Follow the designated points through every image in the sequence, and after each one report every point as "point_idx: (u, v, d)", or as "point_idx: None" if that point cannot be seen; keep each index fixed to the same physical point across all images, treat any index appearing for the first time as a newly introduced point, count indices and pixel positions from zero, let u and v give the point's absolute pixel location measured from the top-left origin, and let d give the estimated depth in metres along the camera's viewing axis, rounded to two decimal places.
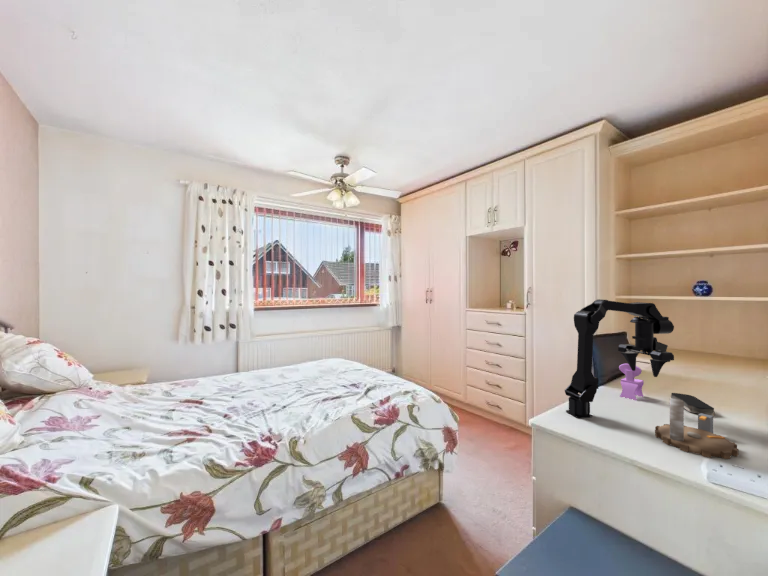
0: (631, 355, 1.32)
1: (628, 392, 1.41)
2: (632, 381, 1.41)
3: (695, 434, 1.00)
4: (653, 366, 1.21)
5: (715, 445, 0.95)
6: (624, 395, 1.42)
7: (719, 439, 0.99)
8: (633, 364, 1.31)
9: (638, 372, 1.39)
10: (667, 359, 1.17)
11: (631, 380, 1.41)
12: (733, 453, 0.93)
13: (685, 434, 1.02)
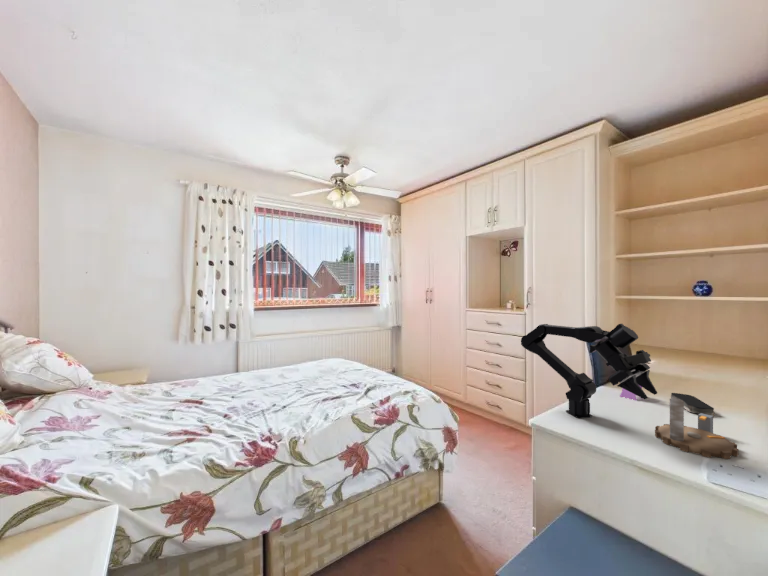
0: (639, 378, 1.11)
1: (628, 392, 1.41)
2: None
3: (695, 434, 1.00)
4: None
5: (715, 445, 0.95)
6: (624, 395, 1.42)
7: (719, 439, 0.99)
8: (649, 386, 1.08)
9: None
10: (619, 380, 1.04)
11: None
12: (733, 453, 0.93)
13: (685, 434, 1.02)
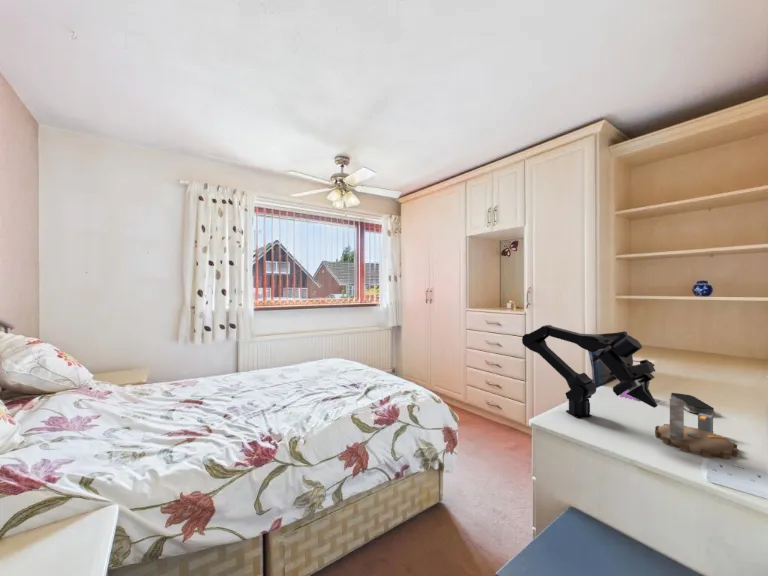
0: None
1: (628, 391, 1.41)
2: None
3: (695, 434, 1.00)
4: None
5: (715, 445, 0.95)
6: (624, 395, 1.42)
7: (719, 439, 0.99)
8: None
9: None
10: (622, 390, 1.03)
11: None
12: (733, 453, 0.93)
13: (685, 434, 1.02)
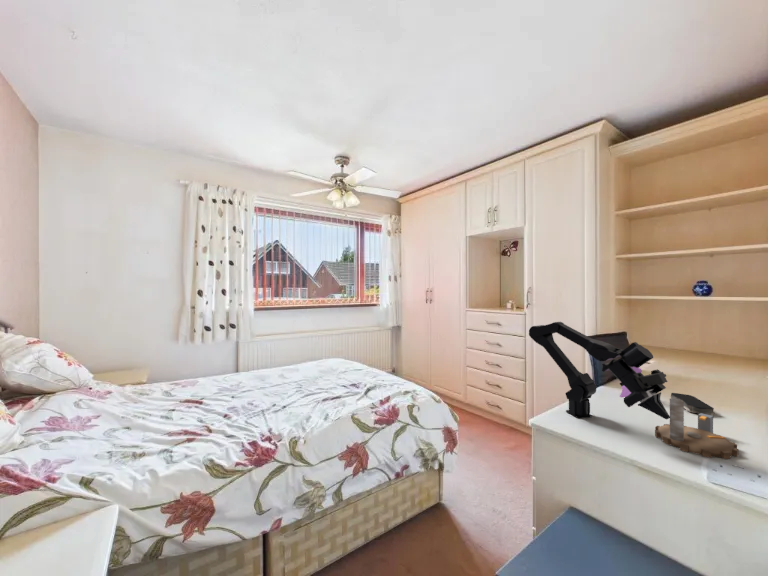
0: None
1: (628, 391, 1.41)
2: None
3: (695, 434, 1.00)
4: None
5: (715, 445, 0.95)
6: (624, 395, 1.42)
7: (719, 439, 0.99)
8: None
9: (638, 372, 1.39)
10: (634, 402, 1.00)
11: None
12: (733, 453, 0.93)
13: (685, 434, 1.02)
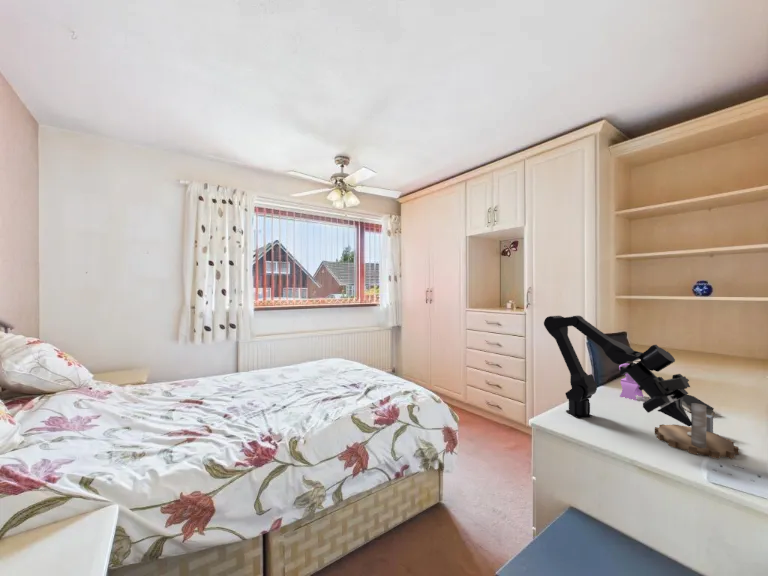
0: None
1: (628, 392, 1.41)
2: (632, 381, 1.41)
3: None
4: None
5: (720, 442, 0.97)
6: (624, 395, 1.42)
7: None
8: None
9: None
10: (654, 407, 0.96)
11: (631, 380, 1.41)
12: None
13: (687, 436, 1.01)
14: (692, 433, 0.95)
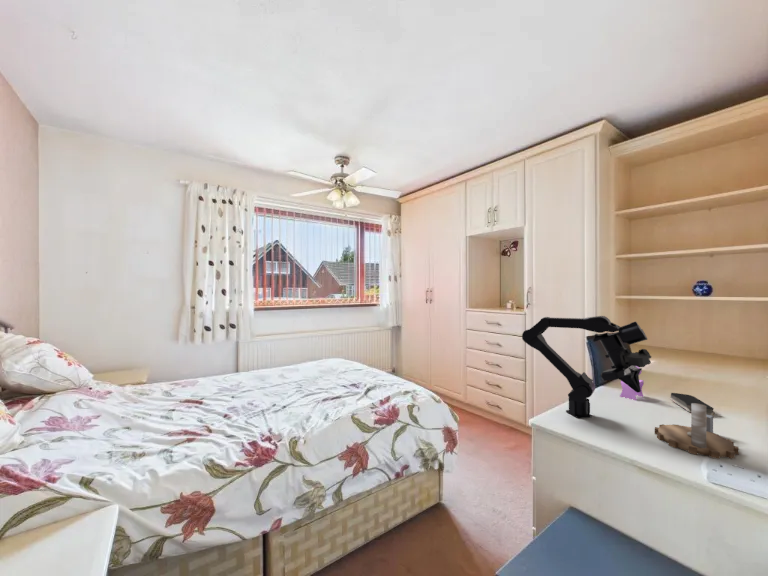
0: None
1: (628, 392, 1.41)
2: None
3: None
4: None
5: (720, 442, 0.97)
6: (624, 395, 1.42)
7: None
8: None
9: None
10: (608, 378, 1.10)
11: None
12: None
13: (687, 436, 1.01)
14: (692, 433, 0.95)
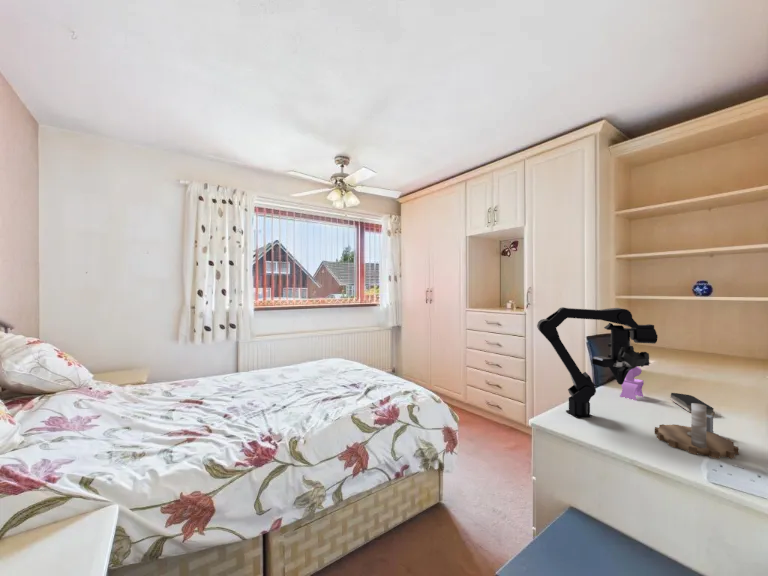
0: None
1: (628, 392, 1.41)
2: (632, 381, 1.41)
3: None
4: None
5: (720, 442, 0.97)
6: (624, 395, 1.42)
7: None
8: None
9: (638, 372, 1.39)
10: (597, 364, 1.18)
11: (631, 380, 1.41)
12: None
13: (687, 436, 1.01)
14: (692, 433, 0.95)
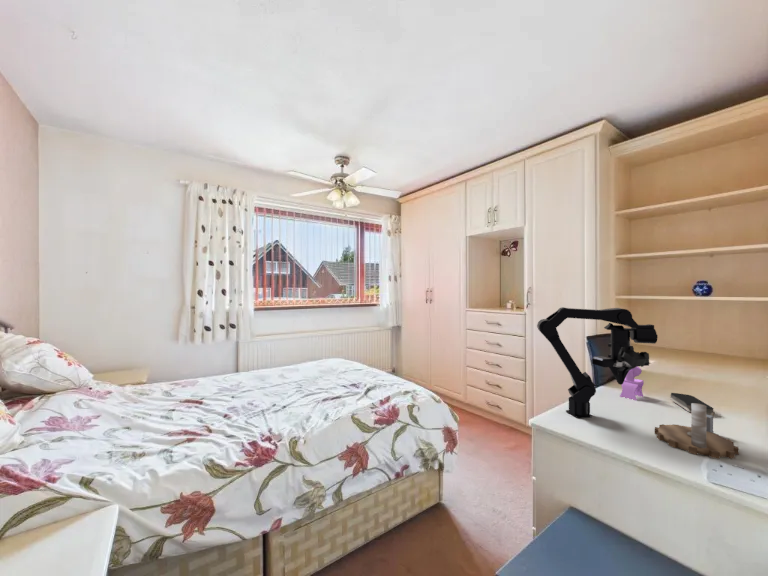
0: None
1: (628, 391, 1.41)
2: (632, 381, 1.41)
3: None
4: None
5: (720, 442, 0.97)
6: (624, 395, 1.42)
7: None
8: None
9: (638, 372, 1.39)
10: (597, 364, 1.18)
11: (631, 380, 1.41)
12: None
13: (687, 436, 1.01)
14: (692, 433, 0.95)
